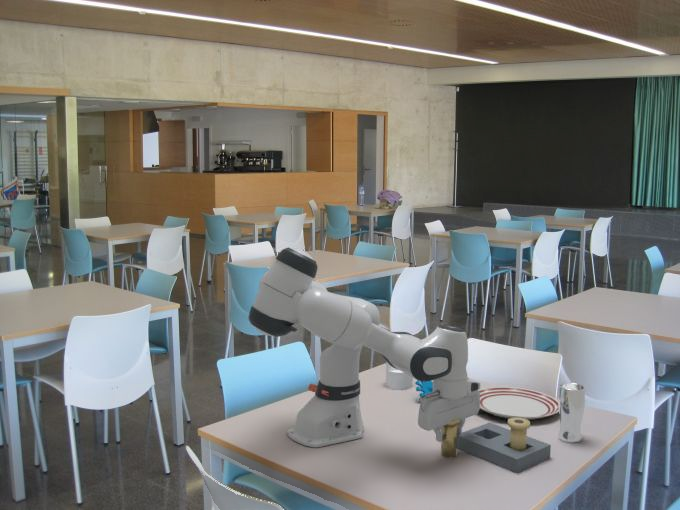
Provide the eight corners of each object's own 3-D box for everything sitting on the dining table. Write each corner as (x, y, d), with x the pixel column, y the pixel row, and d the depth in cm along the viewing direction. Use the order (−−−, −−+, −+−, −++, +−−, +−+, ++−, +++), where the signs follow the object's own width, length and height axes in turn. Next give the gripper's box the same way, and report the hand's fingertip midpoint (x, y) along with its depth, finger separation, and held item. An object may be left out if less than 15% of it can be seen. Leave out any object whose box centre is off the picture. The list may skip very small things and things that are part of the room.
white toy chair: (390, 390, 236) (390, 356, 235) (383, 382, 245) (383, 348, 243) (415, 389, 238) (416, 354, 236) (407, 380, 247) (408, 347, 245)
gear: (422, 401, 221) (413, 373, 227) (413, 410, 225) (405, 382, 231) (451, 400, 226) (442, 373, 232) (442, 409, 230) (433, 382, 236)
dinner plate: (532, 392, 235) (532, 382, 235) (579, 421, 209) (579, 411, 209) (455, 398, 229) (456, 389, 229) (493, 430, 203) (494, 419, 202)
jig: (550, 457, 184) (551, 420, 182) (516, 472, 175) (518, 434, 174) (489, 434, 199) (490, 400, 198) (455, 447, 190) (456, 411, 189)
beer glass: (552, 434, 199) (554, 382, 197) (576, 433, 200) (579, 382, 198) (562, 444, 192) (564, 390, 190) (587, 443, 193) (589, 390, 191)
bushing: (449, 460, 182) (450, 423, 180) (433, 453, 186) (433, 417, 185) (463, 455, 185) (464, 418, 184) (447, 448, 190) (448, 412, 188)
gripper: (430, 398, 174) (429, 452, 176) (484, 382, 187) (483, 431, 189) (412, 392, 179) (412, 444, 181) (466, 376, 192) (465, 425, 194)
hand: (448, 437), depth 185 cm, fingers closed on bushing, 5 cm apart
